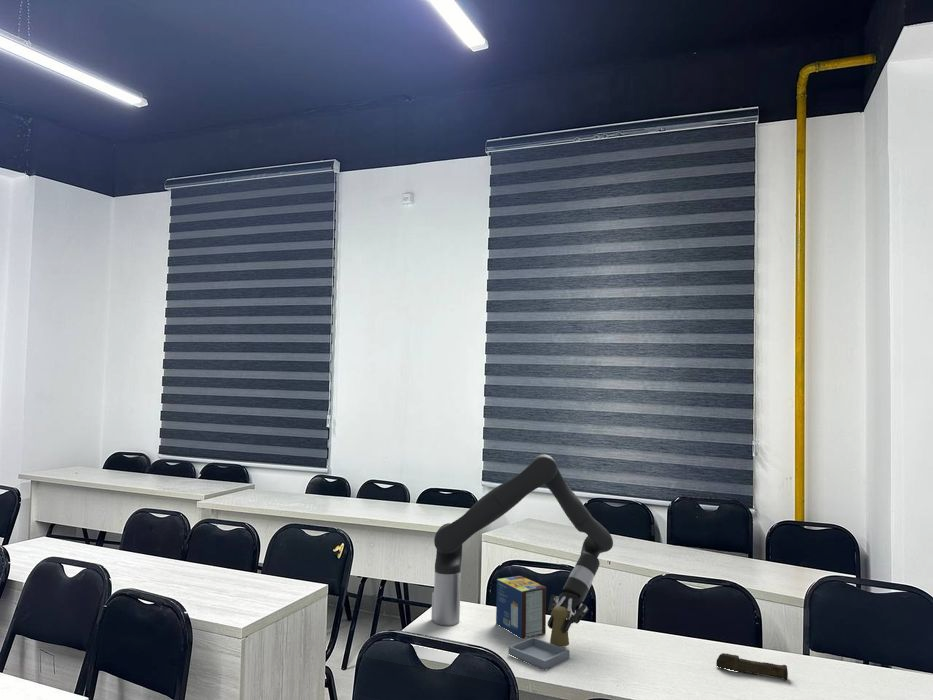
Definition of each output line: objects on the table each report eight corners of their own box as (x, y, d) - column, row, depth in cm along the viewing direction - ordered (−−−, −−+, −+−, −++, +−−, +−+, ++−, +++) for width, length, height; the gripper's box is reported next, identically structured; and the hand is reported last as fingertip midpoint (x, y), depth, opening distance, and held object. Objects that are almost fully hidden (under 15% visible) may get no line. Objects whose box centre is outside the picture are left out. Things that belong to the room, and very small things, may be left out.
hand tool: (787, 677, 180) (786, 660, 180) (788, 683, 176) (788, 666, 177) (717, 665, 187) (716, 649, 188) (716, 670, 184) (716, 654, 184)
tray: (508, 655, 190) (508, 646, 190) (533, 645, 198) (533, 637, 199) (544, 670, 180) (545, 661, 180) (569, 659, 188) (569, 650, 189)
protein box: (519, 619, 222) (520, 575, 223) (546, 634, 208) (546, 586, 210) (495, 624, 216) (496, 578, 218) (520, 639, 203) (521, 590, 204)
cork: (557, 647, 193) (558, 611, 194) (546, 640, 199) (547, 605, 199) (573, 644, 196) (573, 609, 197) (561, 638, 201) (562, 603, 202)
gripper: (556, 571, 209) (533, 616, 200) (592, 581, 199) (570, 629, 190) (565, 584, 212) (543, 629, 203) (601, 595, 202) (579, 643, 193)
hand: (556, 629), depth 196 cm, fingers closed on cork, 4 cm apart
